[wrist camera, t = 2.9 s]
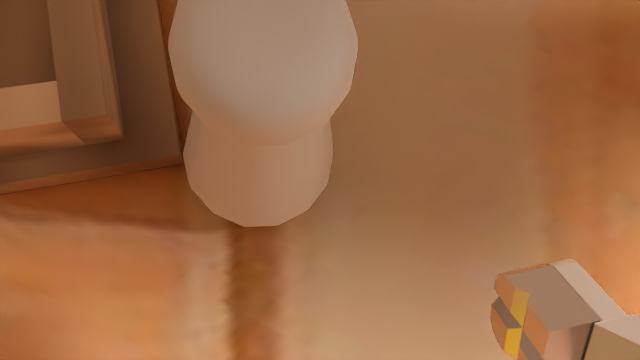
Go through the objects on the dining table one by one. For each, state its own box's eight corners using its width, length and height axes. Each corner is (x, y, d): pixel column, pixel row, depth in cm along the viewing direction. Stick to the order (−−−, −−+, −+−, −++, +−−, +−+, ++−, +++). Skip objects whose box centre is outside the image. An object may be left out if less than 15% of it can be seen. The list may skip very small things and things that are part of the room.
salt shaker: (162, 158, 24) (62, -2, 12) (266, 79, 25) (278, -143, 13) (250, 263, 24) (248, 216, 11) (352, 177, 25) (454, 47, 12)
